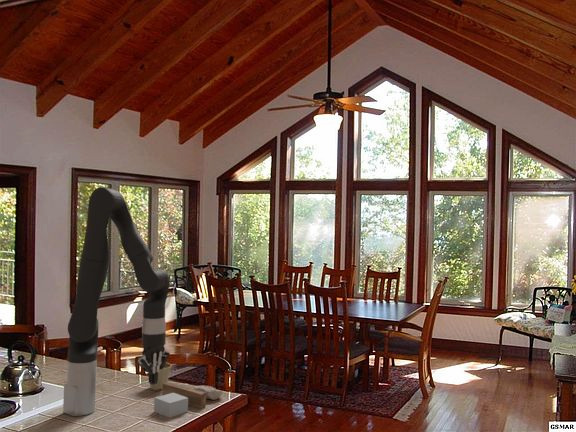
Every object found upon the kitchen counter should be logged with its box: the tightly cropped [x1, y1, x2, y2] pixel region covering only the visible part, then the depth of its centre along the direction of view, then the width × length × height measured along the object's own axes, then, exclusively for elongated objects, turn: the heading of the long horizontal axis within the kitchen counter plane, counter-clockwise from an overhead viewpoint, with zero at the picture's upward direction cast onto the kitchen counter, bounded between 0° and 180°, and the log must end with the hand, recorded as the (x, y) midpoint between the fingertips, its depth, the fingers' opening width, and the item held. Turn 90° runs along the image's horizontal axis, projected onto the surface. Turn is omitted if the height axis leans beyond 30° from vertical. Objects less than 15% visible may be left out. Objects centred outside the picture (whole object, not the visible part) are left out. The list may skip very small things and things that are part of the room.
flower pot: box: [149, 362, 173, 391], centre depth 224 cm, size 9×9×9 cm
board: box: [161, 381, 207, 409], centre depth 208 cm, size 2×19×5 cm, turn 56°
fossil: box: [193, 385, 223, 401], centre depth 214 cm, size 9×6×10 cm
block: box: [153, 393, 189, 418], centre depth 198 cm, size 8×8×5 cm
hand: (153, 383), depth 191 cm, fingers closed
